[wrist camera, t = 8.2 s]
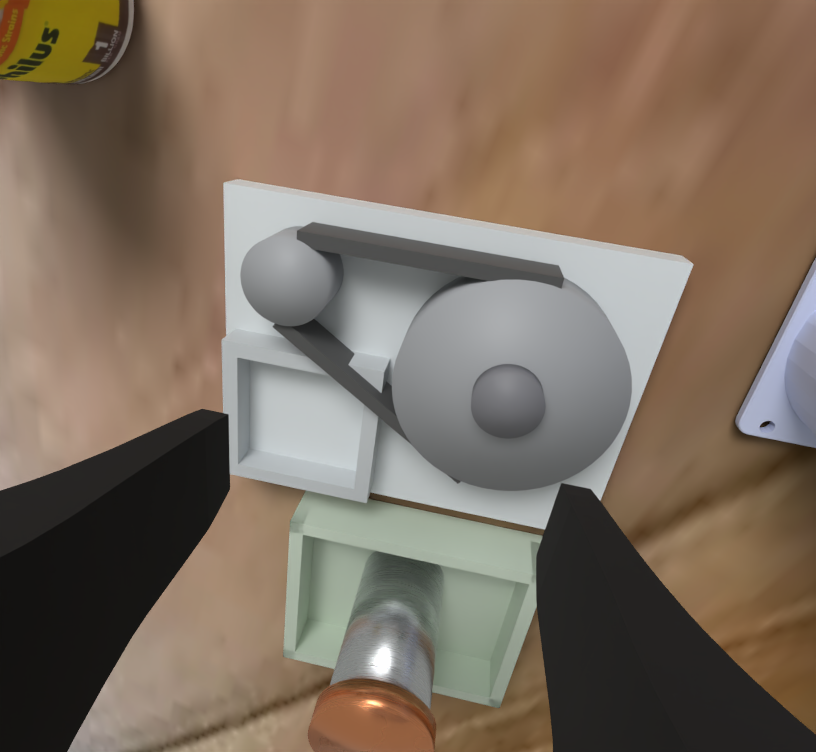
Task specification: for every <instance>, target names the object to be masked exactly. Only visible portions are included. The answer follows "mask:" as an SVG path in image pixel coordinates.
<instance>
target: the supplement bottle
mask: <svg viewBox="0 0 816 752" xmlns="http://www.w3.org/2000/svg"><path fill="white" fill-rule="evenodd" d="M133 18H134V0H0V79H5V80H16V81H30V82H41V83H54V84H81V83H86V82H90V81H93V80H96V79H98V78H100V77H102V76H103V75H105V74H106V73H107V72H109V71H110V70H111V69H112V68H113V67H114V66H115V65H116V64H117V63H118V61H119V60H120V58H121V57H122V55H123V54H124V52H125V50H126V47H127V45H128V43H129V40H130V37H131V33H132V28H133Z"/></svg>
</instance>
